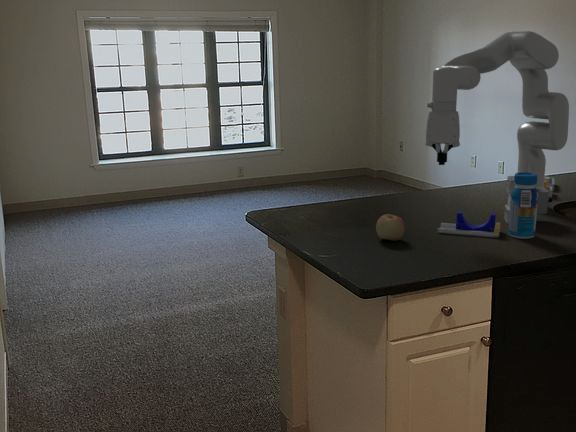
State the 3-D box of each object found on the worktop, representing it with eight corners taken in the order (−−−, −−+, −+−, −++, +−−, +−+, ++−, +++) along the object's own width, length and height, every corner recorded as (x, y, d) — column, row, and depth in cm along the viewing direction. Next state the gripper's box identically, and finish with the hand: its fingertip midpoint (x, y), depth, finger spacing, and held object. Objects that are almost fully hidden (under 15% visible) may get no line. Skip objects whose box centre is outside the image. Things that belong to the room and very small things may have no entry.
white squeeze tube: (440, 227, 214) (441, 218, 214) (500, 231, 208) (500, 222, 207) (437, 233, 208) (437, 224, 207) (498, 237, 201) (499, 228, 200)
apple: (382, 235, 207) (382, 211, 205) (408, 238, 203) (408, 214, 201) (371, 242, 200) (372, 217, 198) (398, 245, 195) (399, 220, 193)
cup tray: (517, 182, 280) (518, 175, 279) (553, 184, 275) (554, 177, 274) (516, 189, 267) (516, 182, 266) (554, 191, 262) (554, 184, 261)
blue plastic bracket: (455, 231, 207) (456, 214, 206) (456, 228, 211) (457, 210, 210) (494, 234, 203) (495, 216, 202) (494, 230, 208) (495, 213, 206)
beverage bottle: (502, 235, 204) (506, 174, 198) (517, 230, 208) (521, 170, 203) (525, 241, 197) (530, 177, 192) (541, 235, 202) (546, 174, 197)
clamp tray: (508, 191, 264) (508, 184, 263) (551, 193, 258) (552, 186, 257) (507, 195, 256) (507, 188, 256) (551, 198, 250) (552, 190, 250)
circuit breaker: (551, 224, 215) (554, 180, 211) (506, 223, 217) (509, 180, 214) (547, 218, 222) (550, 176, 218) (504, 217, 224) (507, 175, 221)
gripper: (418, 108, 200) (416, 165, 205) (467, 108, 195) (464, 167, 199) (422, 105, 207) (420, 161, 211) (469, 106, 202) (466, 163, 206)
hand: (441, 164), depth 205 cm, fingers closed
